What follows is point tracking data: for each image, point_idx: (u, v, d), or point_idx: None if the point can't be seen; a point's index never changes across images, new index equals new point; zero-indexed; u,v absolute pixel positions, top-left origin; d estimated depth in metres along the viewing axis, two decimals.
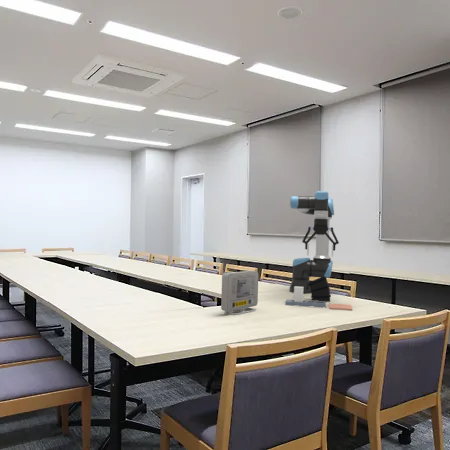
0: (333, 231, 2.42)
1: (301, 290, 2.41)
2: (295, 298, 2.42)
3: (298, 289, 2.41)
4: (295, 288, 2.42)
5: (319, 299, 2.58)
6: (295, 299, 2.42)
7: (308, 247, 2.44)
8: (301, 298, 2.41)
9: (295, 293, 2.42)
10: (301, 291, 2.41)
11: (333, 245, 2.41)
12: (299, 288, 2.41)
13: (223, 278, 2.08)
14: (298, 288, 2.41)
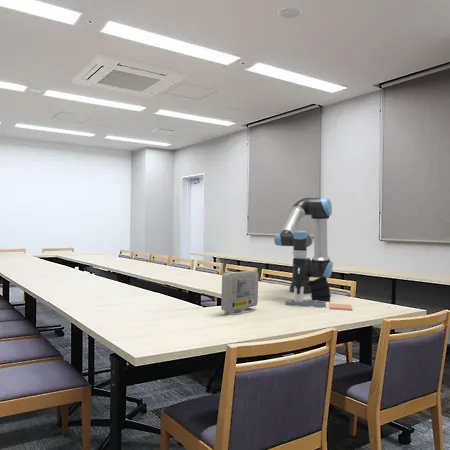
0: (299, 274, 2.37)
1: (301, 290, 2.41)
2: (295, 298, 2.42)
3: None
4: (295, 288, 2.42)
5: (319, 299, 2.58)
6: (295, 299, 2.42)
7: None
8: (301, 298, 2.41)
9: (295, 293, 2.42)
10: (301, 291, 2.41)
11: None
12: None
13: (223, 278, 2.08)
14: None
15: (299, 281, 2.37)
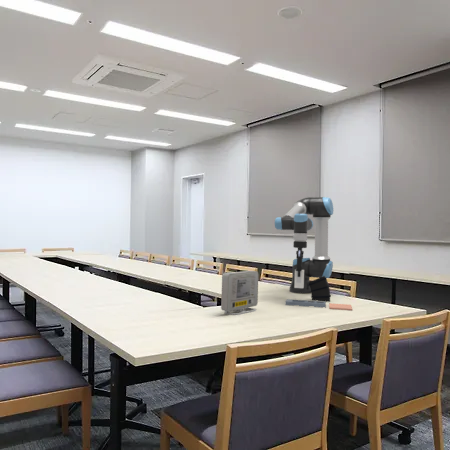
0: (299, 257, 2.38)
1: (302, 272, 2.41)
2: None
3: None
4: (296, 271, 2.42)
5: (319, 299, 2.58)
6: None
7: None
8: (302, 281, 2.41)
9: (296, 276, 2.42)
10: (302, 274, 2.41)
11: (297, 271, 2.41)
12: None
13: (223, 278, 2.08)
14: None
15: (300, 264, 2.38)
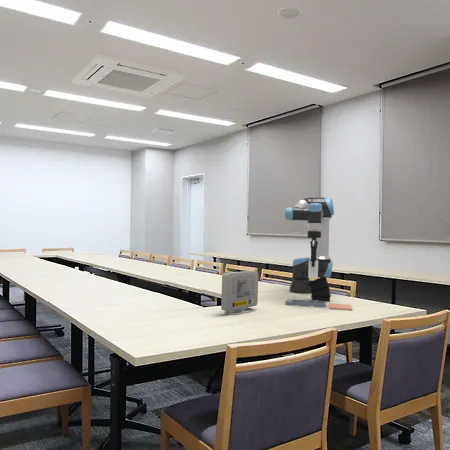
0: (313, 246, 2.36)
1: (316, 262, 2.39)
2: (310, 271, 2.40)
3: None
4: (310, 261, 2.40)
5: (319, 299, 2.58)
6: (310, 272, 2.40)
7: None
8: (316, 271, 2.39)
9: (310, 266, 2.40)
10: (316, 264, 2.39)
11: (311, 261, 2.39)
12: None
13: (223, 278, 2.08)
14: None
15: (314, 253, 2.36)
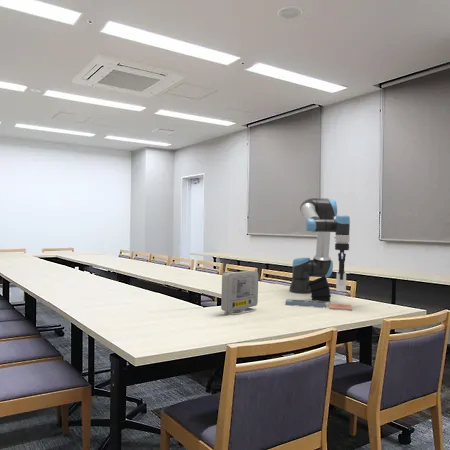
0: (342, 259, 2.32)
1: (344, 275, 2.35)
2: (338, 284, 2.36)
3: None
4: (338, 274, 2.36)
5: (319, 299, 2.58)
6: (338, 285, 2.36)
7: None
8: (344, 284, 2.35)
9: (338, 279, 2.36)
10: (344, 277, 2.35)
11: None
12: None
13: (223, 278, 2.08)
14: None
15: (342, 266, 2.32)
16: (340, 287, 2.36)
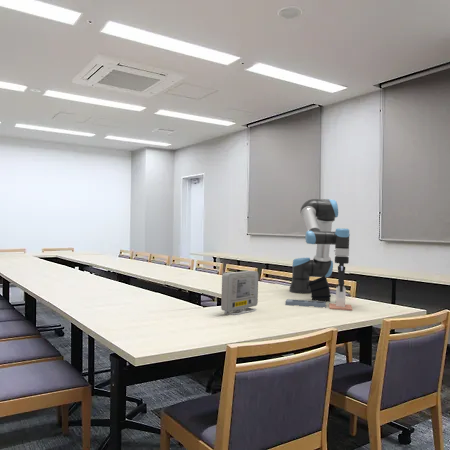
0: (342, 271, 2.31)
1: (344, 291, 2.35)
2: (337, 299, 2.36)
3: None
4: (337, 289, 2.36)
5: (319, 299, 2.58)
6: (337, 300, 2.36)
7: (338, 286, 2.43)
8: (344, 299, 2.35)
9: (337, 294, 2.36)
10: None
11: (340, 286, 2.32)
12: None
13: (223, 278, 2.08)
14: None
15: (342, 278, 2.30)
16: (339, 302, 2.36)
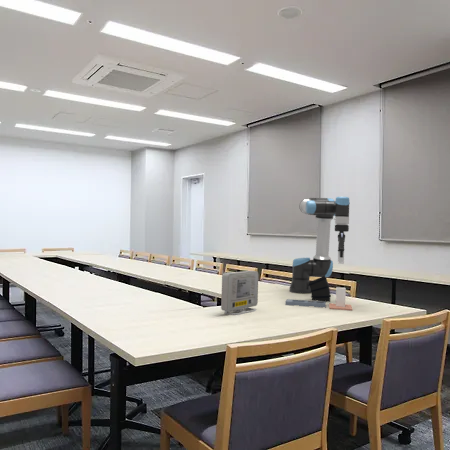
0: (342, 237, 2.32)
1: (344, 291, 2.35)
2: (337, 299, 2.36)
3: (340, 290, 2.36)
4: (337, 289, 2.36)
5: (319, 299, 2.58)
6: (337, 300, 2.36)
7: (338, 253, 2.45)
8: (344, 299, 2.35)
9: (337, 294, 2.36)
10: (343, 292, 2.35)
11: None
12: (341, 289, 2.36)
13: (223, 278, 2.08)
14: (340, 289, 2.36)
15: (342, 244, 2.30)
16: (339, 302, 2.36)
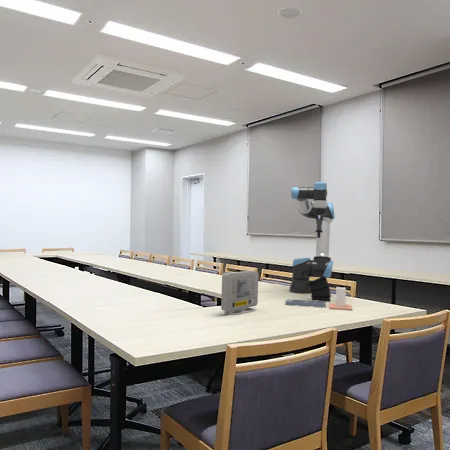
0: (319, 219, 2.51)
1: (344, 291, 2.35)
2: (337, 299, 2.36)
3: (340, 290, 2.36)
4: (337, 289, 2.36)
5: (319, 299, 2.58)
6: (337, 300, 2.36)
7: None
8: (344, 299, 2.35)
9: (337, 294, 2.36)
10: (343, 292, 2.35)
11: (317, 232, 2.51)
12: (341, 289, 2.36)
13: (223, 278, 2.08)
14: (340, 289, 2.36)
15: (319, 225, 2.49)
16: (339, 302, 2.36)
